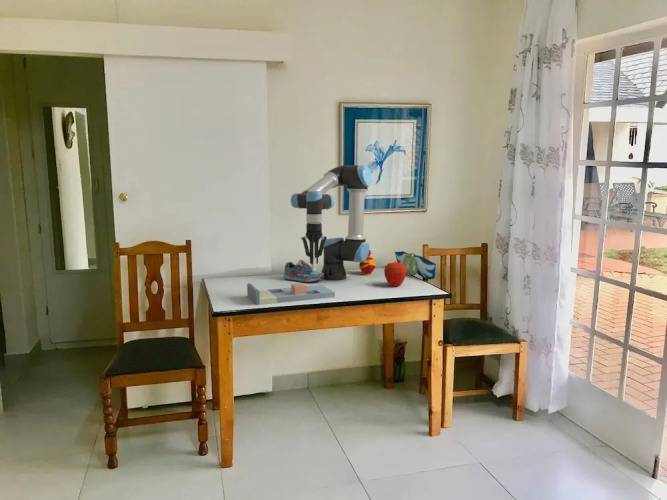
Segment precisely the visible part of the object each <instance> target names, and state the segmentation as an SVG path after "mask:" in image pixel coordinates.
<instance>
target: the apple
mask: <svg viewBox="0 0 667 500" xmlns="http://www.w3.org/2000/svg"><path fill="white" fill-rule="evenodd" d="M406 271H407V270H406V267H405V266H404V265H403V264H402V263H397V260H396V261H394V262H388V263H387V264H386V265H385V267H384V271H383V272H384V277H385V280H386V282H387V284H389V286H391V287H395V288H396V287H399V286H401V285H402V284H404V281H405V279H406V275H407V274H406Z"/></svg>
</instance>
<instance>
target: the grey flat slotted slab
mask: <svg viewBox="0 0 667 500" xmlns="http://www.w3.org/2000/svg"><path fill="white" fill-rule="evenodd" d="M246 285H247V286H246V289H247V290H246V291H247V292H246V293H247V297H248V299H250V300H251V301H252V302H253V303H254V304H255V305H260V306H261V305H268V304H269V305H270V304H278V303H287V302H288V303H289V302H299V301H309V300H318V299H328V298H335V297H336V291H334V290H332V289H330V288H328V287H327V286H325V285H323V284H317V285H306V286H307V294H299V295H295V294H293V293H292V292H291V287H283V288H281V287H280V288H273V289H272V288H270V289H269V288H268V289H260V290H259V289H258V288H257V287H255V285H253V284H252V283H251V282H249V283H247V284H246Z"/></svg>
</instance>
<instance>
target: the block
mask: <svg viewBox="0 0 667 500" xmlns="http://www.w3.org/2000/svg"><path fill="white" fill-rule="evenodd" d="M307 286H308V285H306V284H305V283H304V282H301V283H291V285H290V288H291V292H292V293H293V294H295V295H299V294H307Z"/></svg>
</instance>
